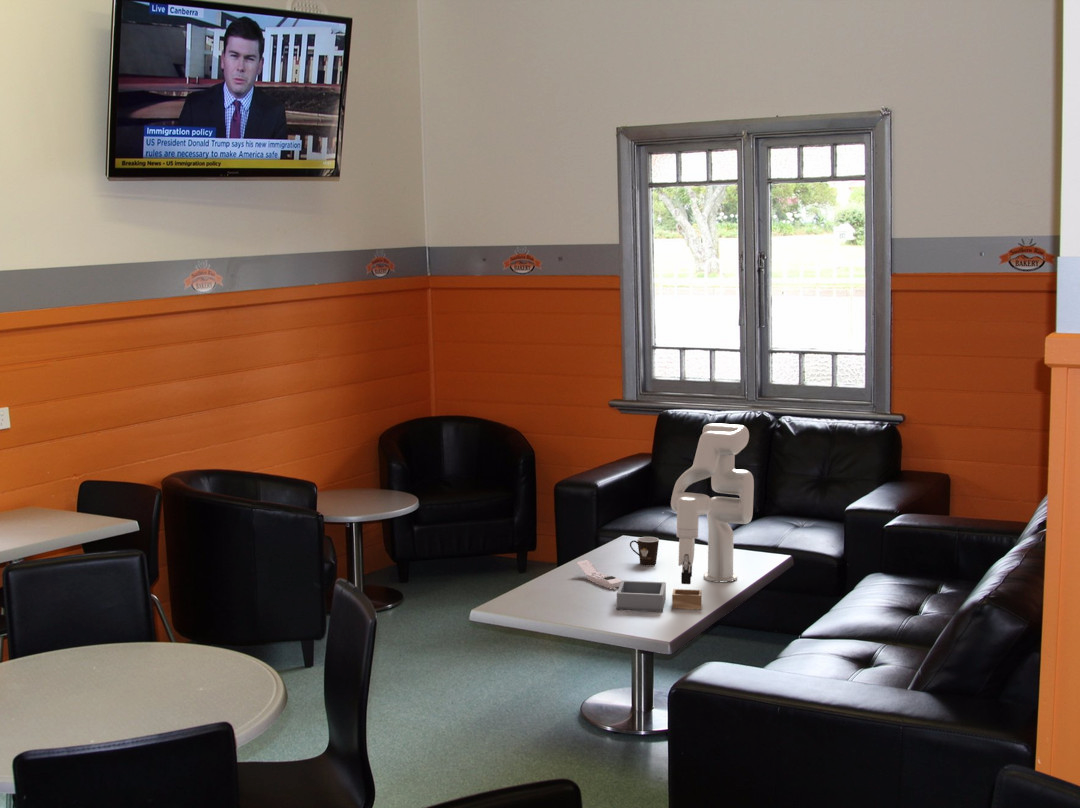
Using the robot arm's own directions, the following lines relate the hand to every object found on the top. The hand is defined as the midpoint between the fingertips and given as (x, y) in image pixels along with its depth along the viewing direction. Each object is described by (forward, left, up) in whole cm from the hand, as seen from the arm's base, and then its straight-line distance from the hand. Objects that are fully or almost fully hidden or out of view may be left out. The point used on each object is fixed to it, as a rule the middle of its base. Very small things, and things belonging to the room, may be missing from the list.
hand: (686, 580), depth 402 cm
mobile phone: (-26, -33, -10) cm, 44 cm away
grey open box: (-1, -16, -10) cm, 18 cm away
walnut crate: (-1, 0, -10) cm, 10 cm away
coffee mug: (-56, -19, -10) cm, 60 cm away
